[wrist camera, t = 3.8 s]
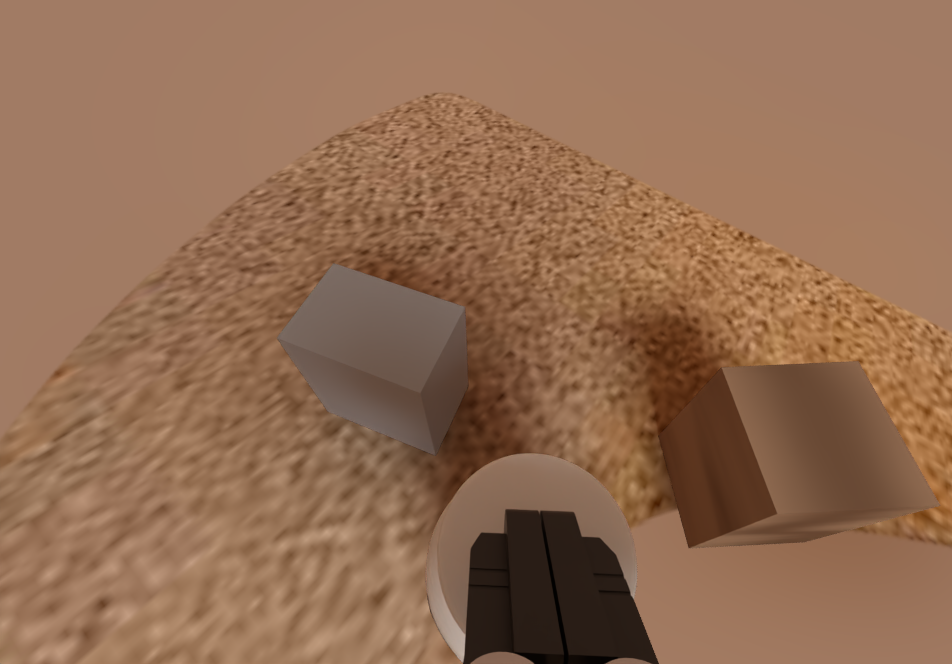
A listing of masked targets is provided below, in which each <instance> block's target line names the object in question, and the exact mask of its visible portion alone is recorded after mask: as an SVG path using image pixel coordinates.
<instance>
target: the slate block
mask: <svg viewBox="0 0 952 664" xmlns="http://www.w3.org/2000/svg"><path fill="white" fill-rule="evenodd" d="M277 339H278V341H279V342H280V344H281V345H282V346H283V348H284V349H285V351H286V352H287V354H288V355H289V356H290V358H291V359H292V361H293V362H294V364H295V365H296V367H297V368H298V369H299V371H300V372H301V374H302V375H303V377H304V378H305V379H306V381H307V382H308V384H309V385H310V387H311V388H312V390H313V391H314V392H315V394H316V395H317V397H318V398H319V400H320V401H321V403H322V404H323V405H324V407H325V408H326V410H327V411H328V412H330V413H333V414H335V415H337V416H340V417H342V418H345V419H347V420H350V421H352V422H354V423H357V424H359V425H362V426H364V427H367V428H369V429H371V430H374V431H376V432H379V433H381V434H384V435H386V436H388V437H391V438H393V439H396V440H398V441H401V442H403V443H405V444H408V445H410V446H413V447H415V448H418V449H420V450H422V451H425V452H427V453H430V454H432V455H435V456H436V454H437V452H438V450H439V448H440V446H441V444H442V442H443V439H444V437H445V435H446V433H447V431H448V429H449V426H450V424H451V422H452V420H453V418H454V416H455V414H456V411H457V409H458V407H459V405H460V403H461V401H462V398H463V396H464V394H465V392H466V390H467V388H468V363H467V339H466V315H465V307H464V306H461V305H458V304H455V303H452V302H449V301H446V300H443V299H440V298H437V297H434V296H431V295H428V294H425V293H422V292H419V291H416V290H413V289H410V288H407V287H404V286H401V285H398V284H395V283H392V282H389V281H386V280H383V279H380V278H377V277H374V276H371V275H368V274H365V273H362V272H359V271H356V270H353V269H350V268H347V267H344V266H341V265H338V264H335V263H333V264H332V266H331V267H330V268H329V270H328V271H327V272H326V274H325V275H324V276H323V278H322V279H321V280H320V282H319V283H318V284H317V286H316V287H315V288H314V290H313V291H312V292H311V293H310V295H309V296H308V297H307V299H306V300H305V301H304V303H303V304H302V305H301V307H300V308H299V309H298V311H297V312H296V313H295V315H294V316H293V317H292V318H291V320H290V321H289V322H288V324H287V325H286V326H285V328H284V329H283V330H282V332H281V333H280V334H279V336H278V337H277Z"/></svg>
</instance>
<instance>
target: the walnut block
mask: <svg viewBox="0 0 952 664" xmlns="http://www.w3.org/2000/svg"><path fill="white" fill-rule="evenodd" d="M659 440H660V443H661V447H662V451H663V455H664V458H665V462H666V466H667V469H668V473H669V477H670V480H671V484H672V488H673V491H674V495H675V499H676V502H677V506H678V511H679V514H680V518H681V522H682V526H683V529H684V533H685V537H686V540H687V544H688V548H705V547H724V546H743V545H761V544H781V543H800V542H807V541H810V540H814V539H818V538H822V537H825V536H829V535H832V534H837V533H840V532H844V531H848V530H851V529H855V528H859V527H863V526H866V525H870V524H874V523H877V522H881V521H885V520H889V519H892V518H896V517H900V516H903V515H907V514H911V513H915V512H918V511H922V510H926V509H929V508H933V507H937V506H940V504H939V502H938V501H937V499H936V497H935V495H934V493H933V492H932V490H931V488H930V486H929V485H928V483H927V481H926V479H925V478H924V476H923V474H922V472H921V471H920V469H919V467H918V465H917V464H916V462H915V460H914V458H913V457H912V455H911V453H910V451H909V450H908V448H907V446H906V444H905V442H904V441H903V439H902V437H901V435H900V434H899V432H898V430H897V428H896V427H895V425H894V423H893V421H892V420H891V418H890V416H889V414H888V413H887V411H886V409H885V407H884V406H883V404H882V402H881V400H880V399H879V397H878V395H877V393H876V391H875V390H874V388H873V386H872V384H871V383H870V381H869V379H868V377H867V376H866V374H865V372H864V370H863V369H862V367H861V365H860V363H859V362H858V361H853V362H831V363H809V364H786V365H764V366H742V367H721V369H720V370H719V371H718V372H717V373H716V374H715V375H714V376H713V377H712V378H711V379H710V381H709V382H708V383H707V384H706V385H705V386H704V387H703V388H702V389H701V390H700V391H699V392H698V394H697V395H696V396H695V397H694V398H693V399H692V400H691V401H690V402H689V403H688V404H687V405H686V407H685V408H684V409H683V410H682V411H681V412H680V413H679V414H678V415H677V416H676V417H675V418H674V420H673V421H672V422H671V423H670V424H669V425H668V426H667V427H666V428H665V429H664V430H663V431H662V433H661V434H660V435H659Z"/></svg>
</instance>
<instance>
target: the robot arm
mask: <svg viewBox="0 0 952 664" xmlns="http://www.w3.org/2000/svg"><path fill="white" fill-rule="evenodd" d="M463 664H659V663H658V661H657V658H656V655H655V653H654V650H653V648H652V645H651V643H650V640H649V638H648V635H647V633H646V630H645V627H644V625H643V622H642V620H641V617H640V614H639V612H638V610H637V607H636V604H635V602H634V599H633V597H632V596H631V592H630V589H629V586H628V584H627V581H626V579H624V574H623V571H622V569H621V566H620V563H619V561H618V558H617V556H616V554H615V553H614V552H613V551H612V550H611V549H610V548H609V547H608V546H607V545H606V544H605V543H604V542H603V540H602V539H601V538H600V537H582V535H581V532H580V529H579V525H578V522H577V519H576V515H575V513H574V512H569V511H545V510H540V513H539V511H538V510H519V509H505V517H504V533H484V532H481V533H480V535H479V536H478V538H477V539H476V541H475V542H474V544H473V545H472V547H471V549H470V566H469V583H468V600H467V617H466V635H465V652H464V661H463Z"/></svg>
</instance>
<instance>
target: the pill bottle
mask: <svg viewBox="0 0 952 664" xmlns="http://www.w3.org/2000/svg"><path fill="white" fill-rule="evenodd" d="M505 509H519V510H538V511H539V513H540V510H545V511H569V512H574V513H575V515H576V519H577V522H578V525H579V529H580V532H581V535H582V537H600V538H601V539H602V540H603V542H604V543H605V544H606V545H607V546H608V547H609V548H610V549H611V550H612V551H613V552H614V553H615V554H616V556H617V558H618V561H619V563H620V566H621V569H622V571H623V574H624V579H626V581H627V584H628V586H629V589H630V592H631V596H632V597H633V599H634V596H635V591H636V584H637V559H636V552H635V546H634V541H633V537H632V534H631V531H630V528H629V525H628V523H627V521H626V519H625V516H624V514H623V512H622V511H621V509H620V507H619V506H618V504H617V502H616V501H615V500H614V498H613V497H612V495H611V494H610V493H609V492H608V490H607V489H606V488H605V487H604V486H603V485H602V484H601V483H600V482H599V481H598V480H597V479H596V478H594V477H593V476H592V475H591V474H589V473H588V472H587V471H585V470H584V469H582V468H581V467H579V466H577V465H575V464H574V463H572V462H569V461H567V460H564V459H562V458H559V457H555V456H551V455H546V454H537V453H522V454H514V455H510V456H506V457H503V458H500V459H497V460H495V461H493V462H491V463H489V464H487V465H485V466H484V467H482V468H481V469H479V470H478V471H476V472H475V473H474V474H473V475H471V476H470V477H469V478H468V479H467V480H466V481H465V482H464V483H463V484H462V486H461V487H460V488H459V490H458V491H457V492H456V494H455V495H454V497H453V499H452V500H451V501H450V503H449V504H448V505H447V506H446V508H445V509H444V511H443V513H442V514H441V516H440V518H439V520H438V522H437V524H436V526H435V529H434V531H433V534H432V537H431V540H430V544H429V548H428V553H427V562H426V589H427V597H428V603H429V608H430V612H431V614H432V617H433V619H434V621H435V623H436V625H437V628H438V630H439V631H440V633H441V635H442V637H443V638H444V640H445V642H446V643H447V644H448V646H449V647H450V648H451V650H452V651H453V652H454V653H455V654H456V656H457V657H458V658H459V659H460V661H462V662H463V661H464V652H465V635H466V617H467V600H468V583H469V566H470V549H471V547H472V545H473V544H474V542H475V541H476V539H477V538H478V536H479V535H480V533H481V532H484V533H504V517H505Z"/></svg>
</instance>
